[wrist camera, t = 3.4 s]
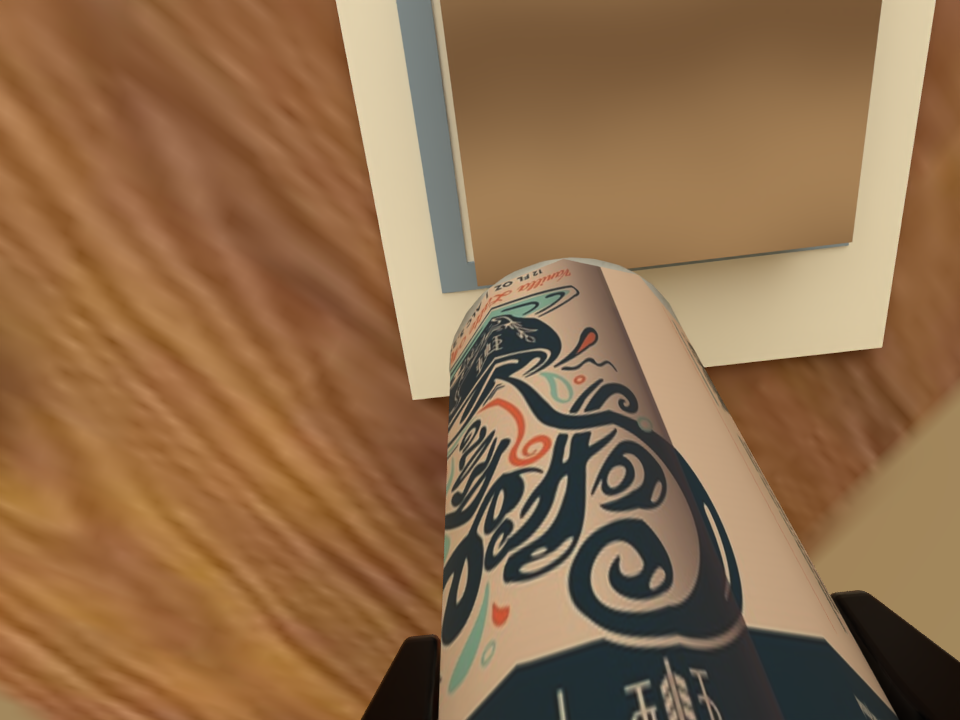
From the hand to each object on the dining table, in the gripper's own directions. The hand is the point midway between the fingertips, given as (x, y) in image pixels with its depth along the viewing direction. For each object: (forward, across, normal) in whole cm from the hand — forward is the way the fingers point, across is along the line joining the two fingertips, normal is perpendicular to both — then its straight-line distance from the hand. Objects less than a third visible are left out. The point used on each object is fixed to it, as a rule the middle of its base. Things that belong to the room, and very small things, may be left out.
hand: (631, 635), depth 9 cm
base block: (+13, -3, -5) cm, 14 cm away
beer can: (+8, 0, 0) cm, 8 cm away
